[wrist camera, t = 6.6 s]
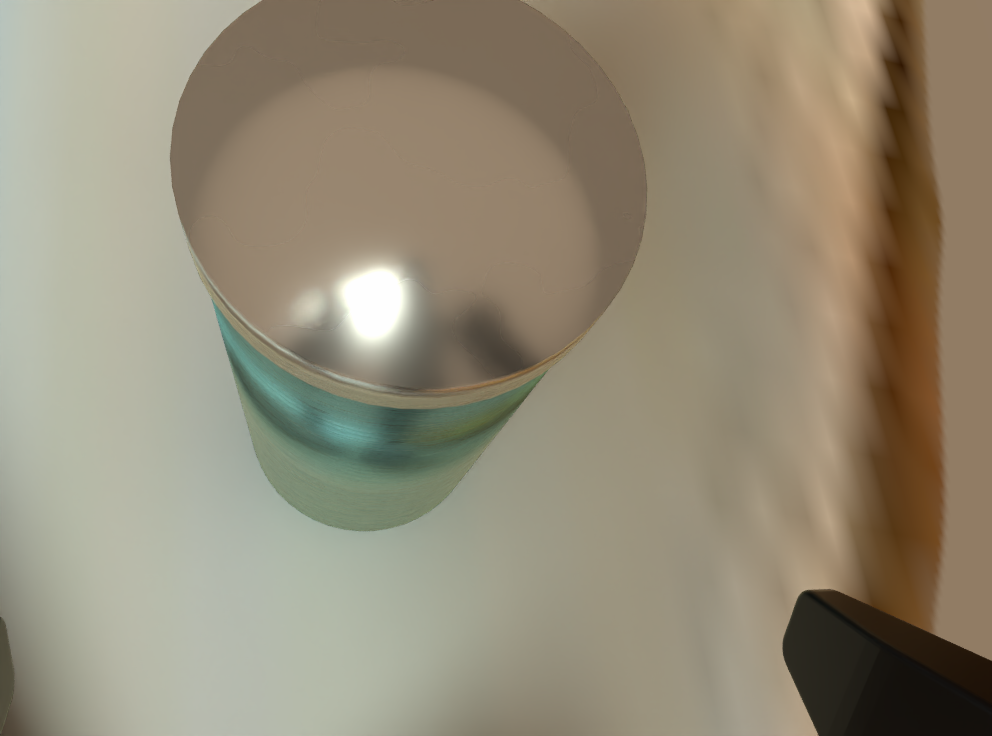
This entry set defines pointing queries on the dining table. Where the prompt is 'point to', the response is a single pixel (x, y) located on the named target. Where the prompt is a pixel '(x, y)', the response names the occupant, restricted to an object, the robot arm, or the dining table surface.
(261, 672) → the dining table surface
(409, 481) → the teal tin
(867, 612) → the robot arm
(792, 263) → the dining table surface
